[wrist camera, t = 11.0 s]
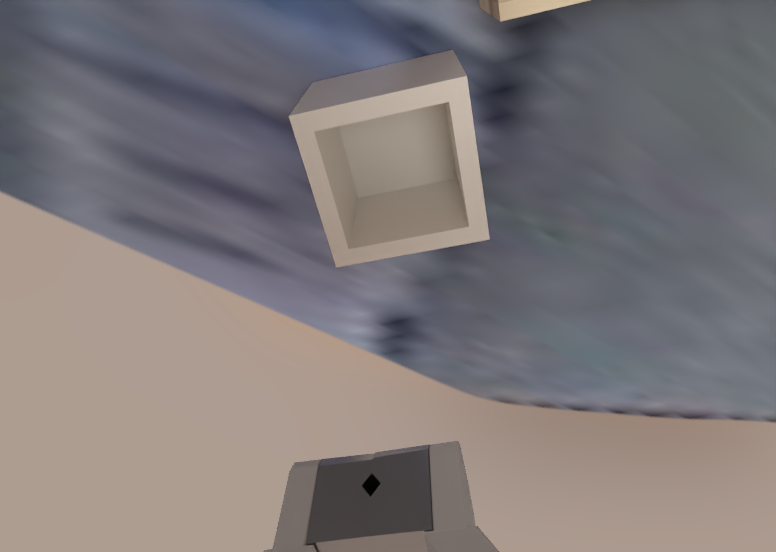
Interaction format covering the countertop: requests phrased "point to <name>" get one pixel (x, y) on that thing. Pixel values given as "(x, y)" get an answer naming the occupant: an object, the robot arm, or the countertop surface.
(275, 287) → the countertop surface
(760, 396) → the countertop surface
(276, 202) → the countertop surface
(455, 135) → the white open box
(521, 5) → the birch box
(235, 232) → the countertop surface
